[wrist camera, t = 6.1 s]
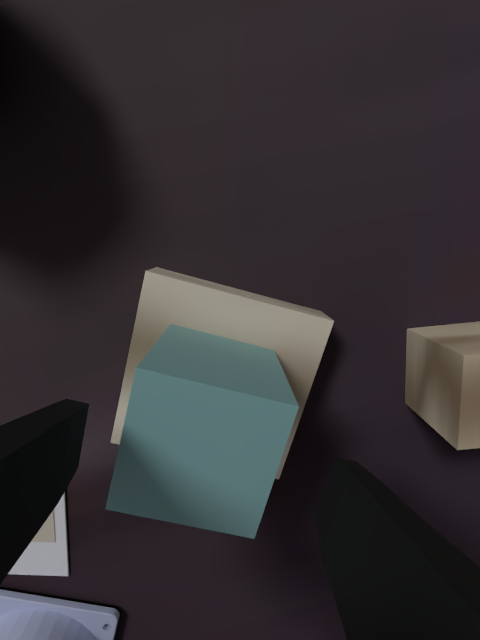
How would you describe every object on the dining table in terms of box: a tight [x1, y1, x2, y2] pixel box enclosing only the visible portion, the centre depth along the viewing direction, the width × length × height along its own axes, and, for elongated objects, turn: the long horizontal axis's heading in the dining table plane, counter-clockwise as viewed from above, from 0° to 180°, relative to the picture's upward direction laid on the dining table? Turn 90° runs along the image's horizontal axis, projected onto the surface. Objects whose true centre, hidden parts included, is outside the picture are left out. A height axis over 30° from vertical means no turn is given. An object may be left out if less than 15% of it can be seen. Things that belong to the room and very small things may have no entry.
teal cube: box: [106, 324, 299, 539], centre depth 11 cm, size 4×4×5 cm
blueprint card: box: [8, 492, 69, 576], centre depth 17 cm, size 8×6×1 cm
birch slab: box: [111, 267, 334, 479], centre depth 15 cm, size 8×8×2 cm
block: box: [405, 322, 480, 450], centre depth 14 cm, size 4×4×4 cm
